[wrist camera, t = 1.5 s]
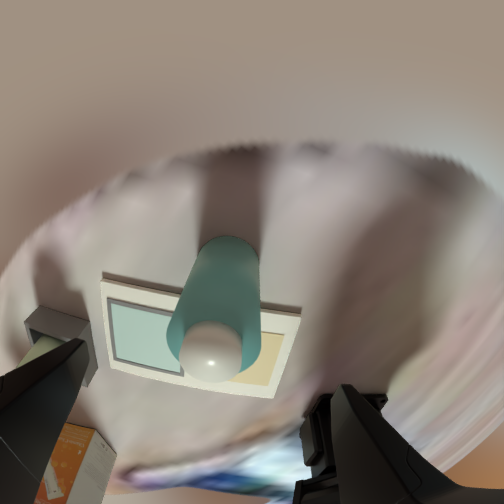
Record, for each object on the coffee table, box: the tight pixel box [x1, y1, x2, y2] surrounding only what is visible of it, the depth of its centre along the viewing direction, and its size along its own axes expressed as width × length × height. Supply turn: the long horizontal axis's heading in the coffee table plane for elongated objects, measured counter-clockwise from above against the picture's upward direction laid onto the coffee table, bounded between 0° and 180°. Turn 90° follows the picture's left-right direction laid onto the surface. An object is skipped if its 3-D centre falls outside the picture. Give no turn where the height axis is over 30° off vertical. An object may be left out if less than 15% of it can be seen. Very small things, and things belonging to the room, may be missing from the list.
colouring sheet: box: [100, 278, 302, 398], centre depth 19 cm, size 13×8×1 cm, turn 80°
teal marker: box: [166, 236, 261, 383], centre depth 13 cm, size 4×4×8 cm
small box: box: [34, 423, 117, 504], centre depth 20 cm, size 8×6×13 cm
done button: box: [16, 333, 66, 368], centre depth 16 cm, size 4×4×4 cm
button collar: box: [24, 306, 98, 387], centre depth 19 cm, size 5×5×2 cm
